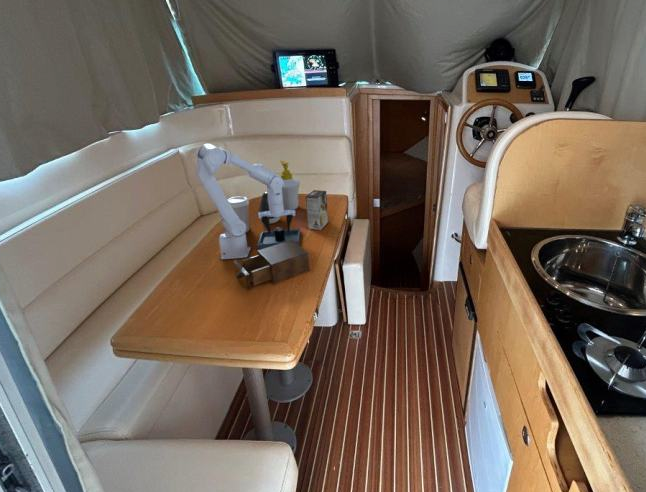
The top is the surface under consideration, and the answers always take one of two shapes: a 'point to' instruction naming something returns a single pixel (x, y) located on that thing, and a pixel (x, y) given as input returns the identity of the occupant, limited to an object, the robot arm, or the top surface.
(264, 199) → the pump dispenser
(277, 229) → the spice tin
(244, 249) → the robot arm
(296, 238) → the tray
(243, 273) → the drawer
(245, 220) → the coffee cup
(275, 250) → the cabinet
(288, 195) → the soap bottle
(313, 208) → the coffee box
